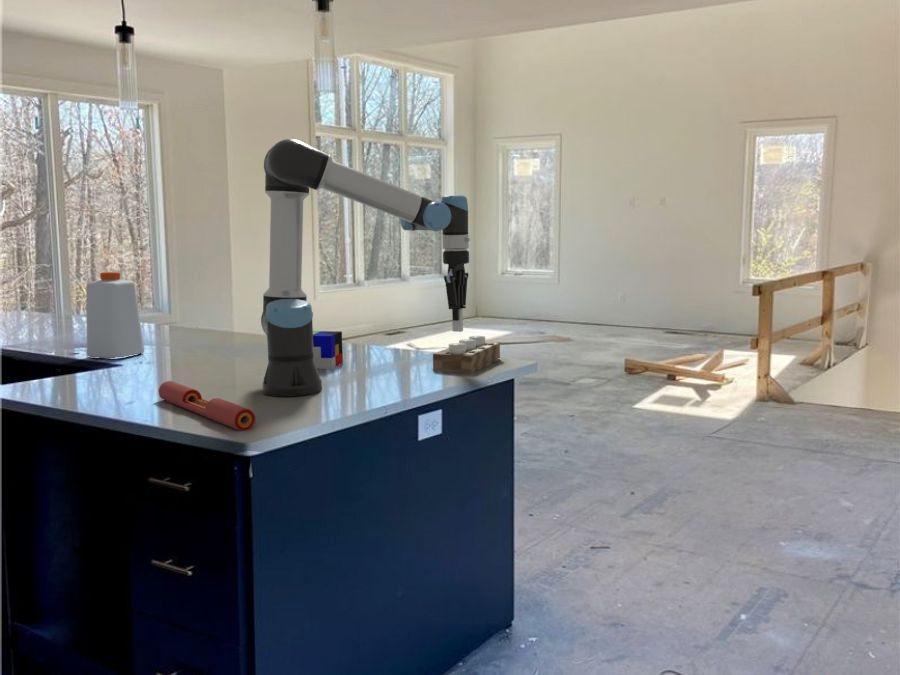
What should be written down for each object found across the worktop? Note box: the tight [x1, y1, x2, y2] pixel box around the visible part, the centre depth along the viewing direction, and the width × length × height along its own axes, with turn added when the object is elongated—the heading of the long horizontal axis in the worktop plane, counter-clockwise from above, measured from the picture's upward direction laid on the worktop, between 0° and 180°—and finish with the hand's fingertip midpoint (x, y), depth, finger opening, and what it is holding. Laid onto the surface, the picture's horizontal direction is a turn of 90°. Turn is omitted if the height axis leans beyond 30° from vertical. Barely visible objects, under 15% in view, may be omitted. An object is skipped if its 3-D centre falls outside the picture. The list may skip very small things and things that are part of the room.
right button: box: [468, 335, 486, 347], centre depth 254 cm, size 5×5×4 cm
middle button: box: [458, 338, 476, 351], centre depth 247 cm, size 5×5×4 cm
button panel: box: [432, 342, 501, 374], centre depth 247 cm, size 24×12×6 cm, turn 157°
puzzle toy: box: [313, 330, 344, 370], centre depth 249 cm, size 10×10×10 cm
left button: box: [448, 342, 466, 355], centre depth 239 cm, size 5×5×4 cm
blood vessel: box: [158, 380, 256, 432], centre depth 189 cm, size 42×5×5 cm, turn 41°
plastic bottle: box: [85, 271, 145, 358], centre depth 272 cm, size 15×15×28 cm
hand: (457, 331), depth 238 cm, fingers closed
